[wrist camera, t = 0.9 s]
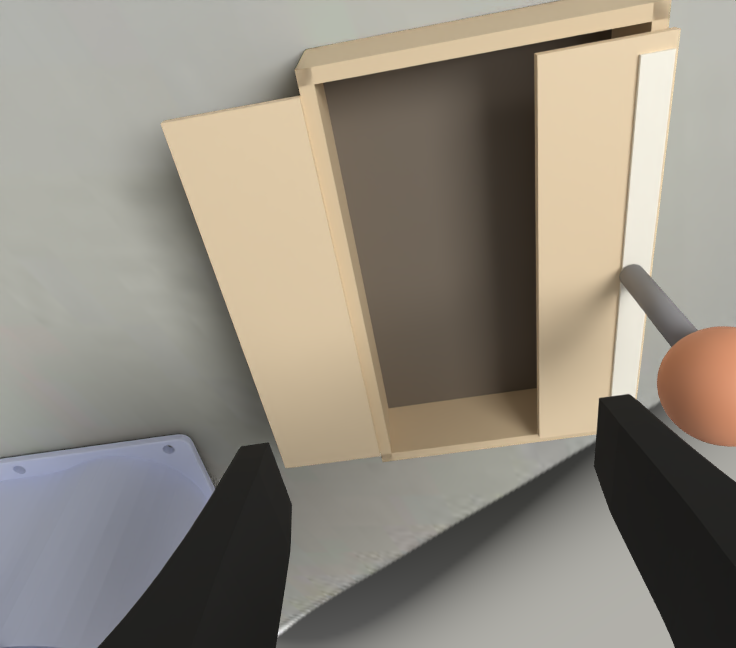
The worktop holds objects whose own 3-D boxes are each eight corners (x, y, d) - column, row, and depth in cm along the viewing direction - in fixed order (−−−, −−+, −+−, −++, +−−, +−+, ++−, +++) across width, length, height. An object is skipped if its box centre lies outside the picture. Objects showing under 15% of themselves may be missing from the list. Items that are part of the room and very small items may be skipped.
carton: (298, 413, 25) (289, 479, 22) (188, 71, 17) (151, 98, 14) (592, 372, 24) (627, 435, 21) (616, -11, 16) (676, -1, 13)
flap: (537, 432, 21) (604, 614, 15) (534, 53, 14) (657, 128, 8) (648, 417, 20) (759, 598, 15) (702, 22, 13) (954, 77, 8)
